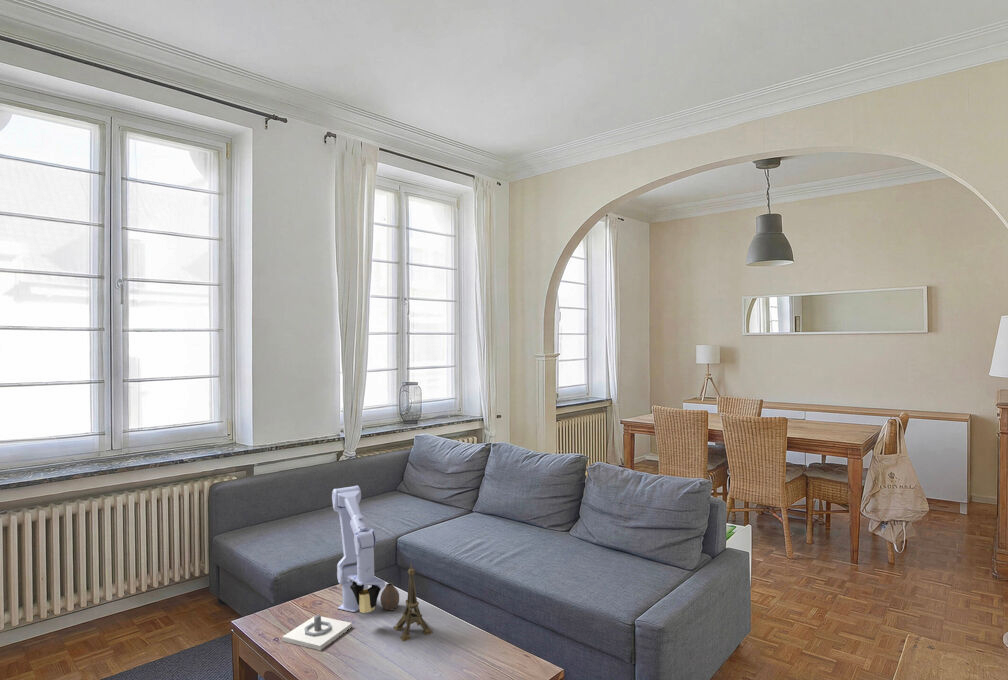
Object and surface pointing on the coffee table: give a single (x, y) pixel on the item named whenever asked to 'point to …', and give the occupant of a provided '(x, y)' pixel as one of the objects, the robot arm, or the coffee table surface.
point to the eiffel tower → (411, 615)
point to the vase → (389, 597)
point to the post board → (317, 632)
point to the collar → (365, 601)
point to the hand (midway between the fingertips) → (366, 605)
